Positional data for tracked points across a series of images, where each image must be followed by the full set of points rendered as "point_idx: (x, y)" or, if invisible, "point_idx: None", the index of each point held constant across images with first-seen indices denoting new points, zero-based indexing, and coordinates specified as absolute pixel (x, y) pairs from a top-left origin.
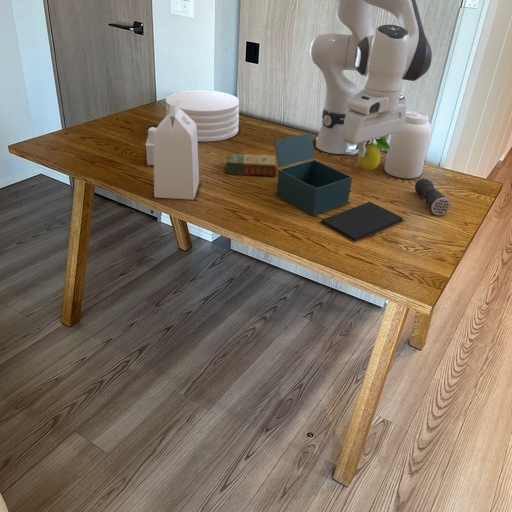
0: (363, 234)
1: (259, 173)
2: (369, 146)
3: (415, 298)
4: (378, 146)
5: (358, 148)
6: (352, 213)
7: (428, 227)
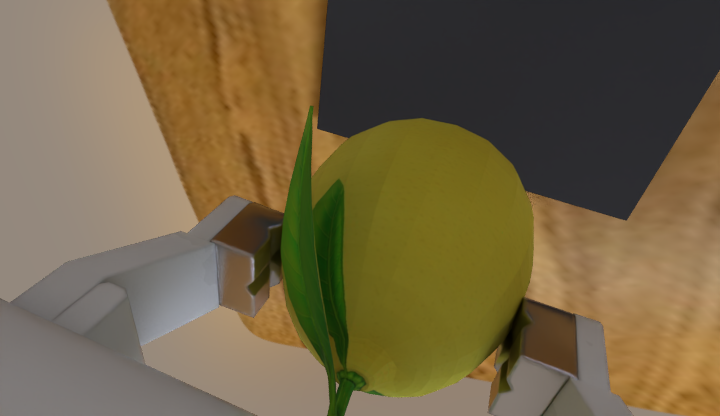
0: None
1: None
2: (303, 335)
3: (242, 315)
4: (498, 383)
5: (174, 234)
6: (507, 9)
7: (628, 302)
